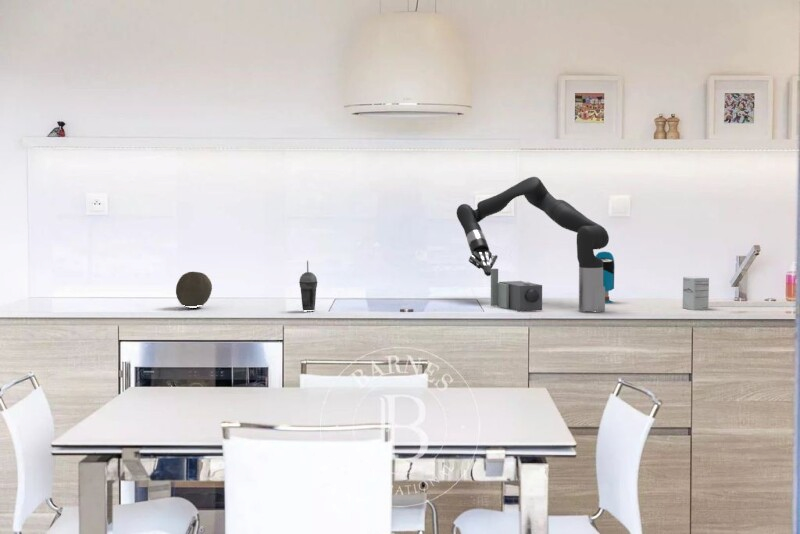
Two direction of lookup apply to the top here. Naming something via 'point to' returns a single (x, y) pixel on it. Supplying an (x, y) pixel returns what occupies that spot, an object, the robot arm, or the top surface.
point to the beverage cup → (308, 290)
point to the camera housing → (524, 296)
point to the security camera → (607, 273)
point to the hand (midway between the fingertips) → (488, 274)
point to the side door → (499, 291)
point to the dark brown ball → (193, 289)
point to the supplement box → (695, 293)
